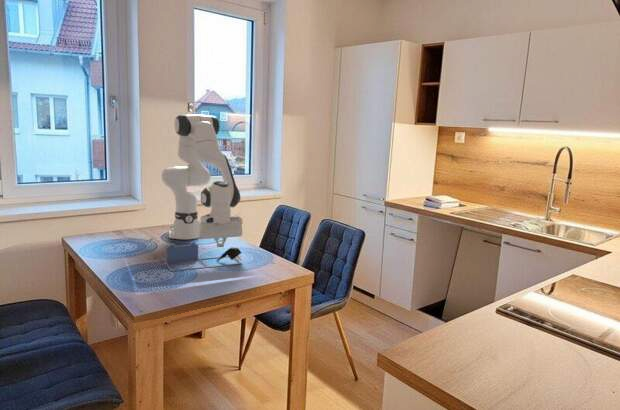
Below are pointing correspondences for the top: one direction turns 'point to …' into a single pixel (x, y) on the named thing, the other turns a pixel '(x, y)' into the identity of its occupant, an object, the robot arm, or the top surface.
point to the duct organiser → (187, 255)
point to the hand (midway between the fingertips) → (220, 246)
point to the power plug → (231, 254)
